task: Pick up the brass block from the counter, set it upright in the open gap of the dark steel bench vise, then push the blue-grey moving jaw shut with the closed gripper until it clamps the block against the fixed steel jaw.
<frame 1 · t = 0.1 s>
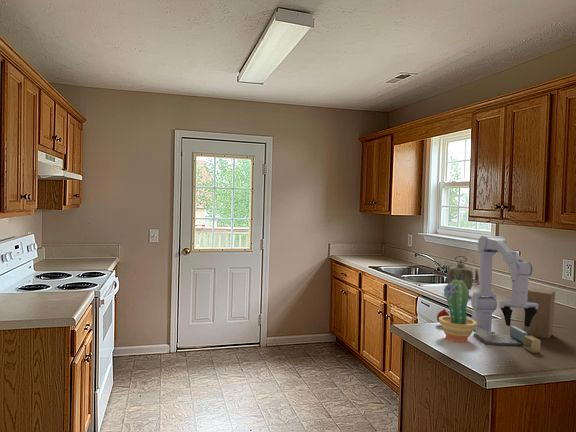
hand: (517, 325, 179), 10 cm above the worktop, fingers open, 7 cm apart
moving jaw: (518, 334, 192), point 3 cm above the worktop, slide at 0.0 cm
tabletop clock: (459, 295, 290), on the worktop
vise: (500, 340, 192), on the worktop
potted cactus: (456, 339, 192), on the worktop
pomegranate: (443, 326, 213), on the worktop
wooden block: (537, 334, 205), on the worktop
brass block: (531, 350, 181), on the worktop
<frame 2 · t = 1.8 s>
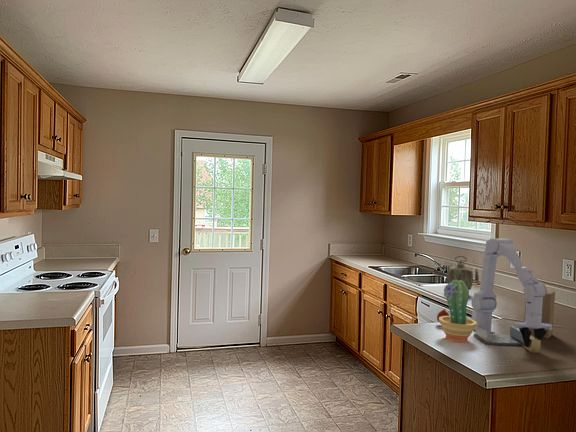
hand: (531, 346, 181), 1 cm above the worktop, fingers closed on brass block, 3 cm apart
brass block: (531, 350, 181), on the worktop, touching gripper
everything else where it was.
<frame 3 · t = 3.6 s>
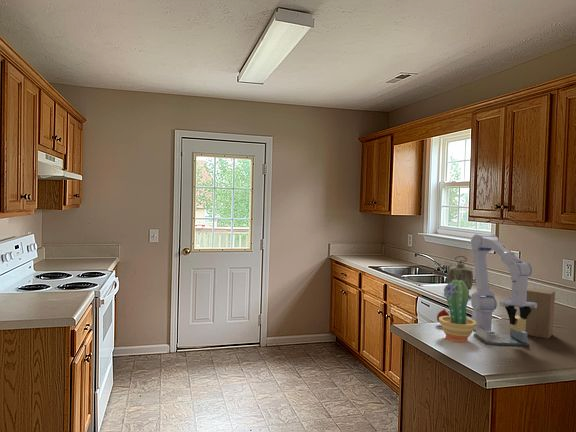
hand: (516, 324, 187), 9 cm above the worktop, fingers closed on brass block, 3 cm apart
brass block: (517, 329, 186), point 7 cm above the worktop, touching gripper
everything else where it was.
when the fingers open (3 cm above the worktop, at t = 5.4 s): brass block stays where it is, resting on vise.
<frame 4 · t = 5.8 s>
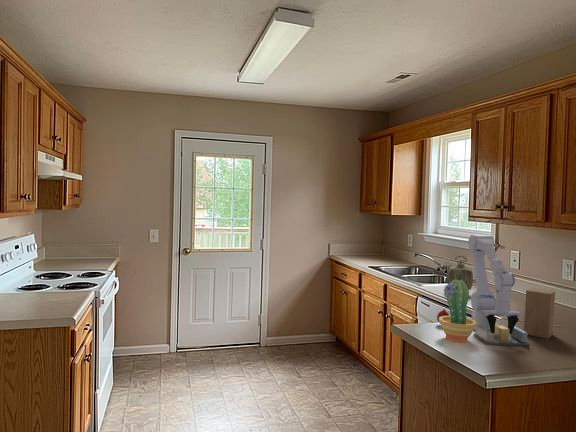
hand: (501, 332, 192), 3 cm above the worktop, fingers open, 7 cm apart
brass block: (501, 338, 192), point 1 cm above the worktop, touching vise
everything else where it was.
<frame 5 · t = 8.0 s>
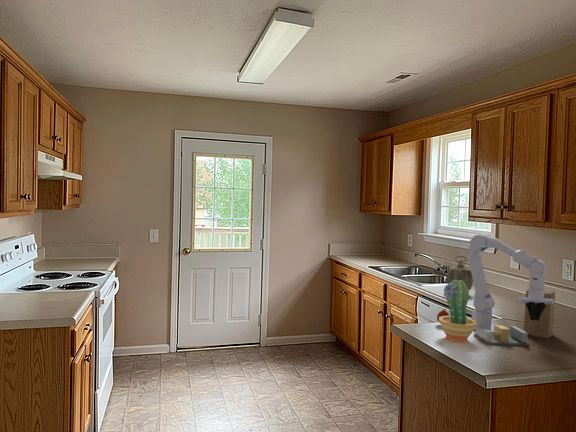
hand: (534, 320, 192), 9 cm above the worktop, fingers closed
nothing on the worktop moved.
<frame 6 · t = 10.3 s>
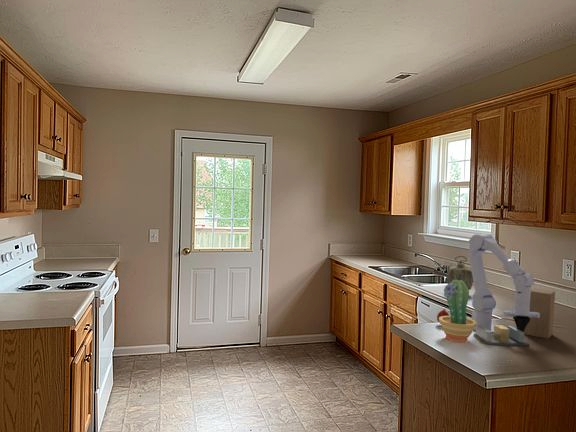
hand: (520, 333, 192), 3 cm above the worktop, fingers closed
moving jaw: (515, 333, 192), point 3 cm above the worktop, slide at 1.4 cm, touching gripper
everything else where it was.
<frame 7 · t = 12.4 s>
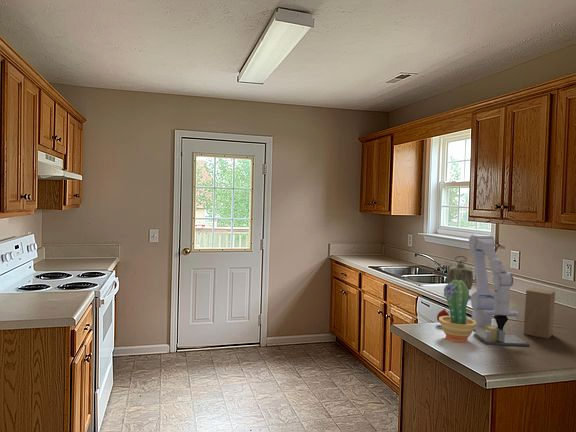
hand: (499, 332, 192), 3 cm above the worktop, fingers closed, pressing on moving jaw
moving jaw: (496, 333, 192), point 3 cm above the worktop, slide at 9.5 cm, touching brass block, gripper
brass block: (490, 338, 192), point 1 cm above the worktop, touching moving jaw, vise
everything else where it was.
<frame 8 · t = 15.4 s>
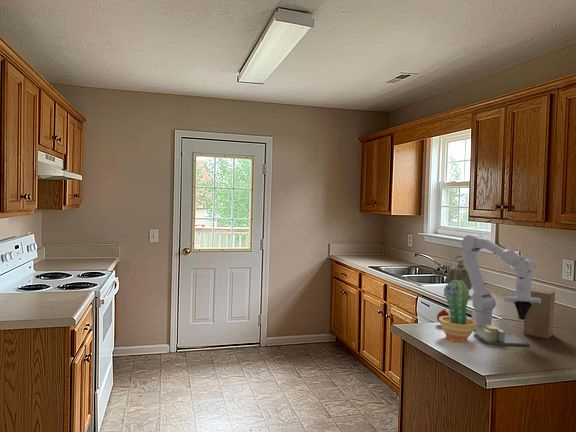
hand: (521, 319, 193), 9 cm above the worktop, fingers closed
moving jaw: (496, 333, 192), point 3 cm above the worktop, slide at 9.5 cm, touching brass block
everything else where it was.
at the end: moving jaw slide at 9.5 cm; brass block 0.4 cm from the target spot on the vise, point 1.0 cm above the vise's base; brass block tilted 0° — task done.
